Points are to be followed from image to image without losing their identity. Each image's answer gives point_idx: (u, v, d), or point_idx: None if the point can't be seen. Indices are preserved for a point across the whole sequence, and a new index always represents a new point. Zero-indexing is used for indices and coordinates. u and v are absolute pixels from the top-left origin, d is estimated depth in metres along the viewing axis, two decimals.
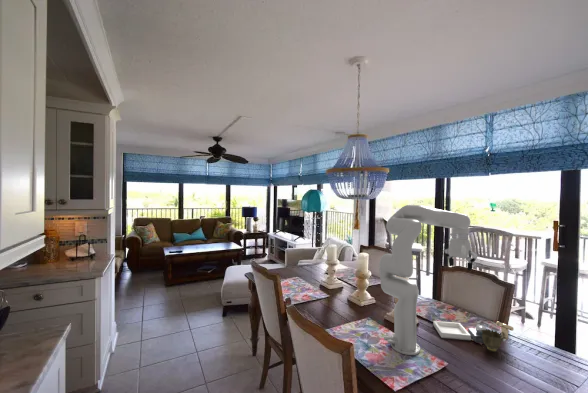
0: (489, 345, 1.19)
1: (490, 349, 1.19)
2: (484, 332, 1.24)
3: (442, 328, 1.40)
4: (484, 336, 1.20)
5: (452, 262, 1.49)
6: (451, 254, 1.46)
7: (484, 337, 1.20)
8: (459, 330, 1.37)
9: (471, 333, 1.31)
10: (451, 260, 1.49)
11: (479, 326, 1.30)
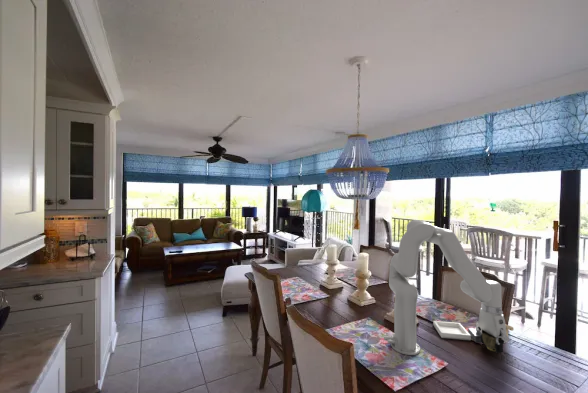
0: (489, 345, 1.19)
1: (490, 349, 1.19)
2: (484, 332, 1.24)
3: (442, 328, 1.40)
4: (484, 336, 1.20)
5: None
6: None
7: (484, 337, 1.20)
8: (459, 330, 1.37)
9: (471, 333, 1.31)
10: None
11: None
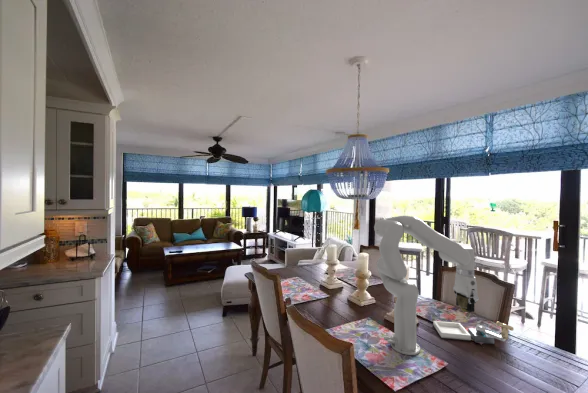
0: (462, 305, 1.28)
1: (463, 309, 1.29)
2: (459, 295, 1.34)
3: (442, 328, 1.40)
4: (458, 297, 1.30)
5: None
6: None
7: (458, 298, 1.30)
8: (459, 330, 1.37)
9: (471, 333, 1.31)
10: None
11: (479, 326, 1.30)
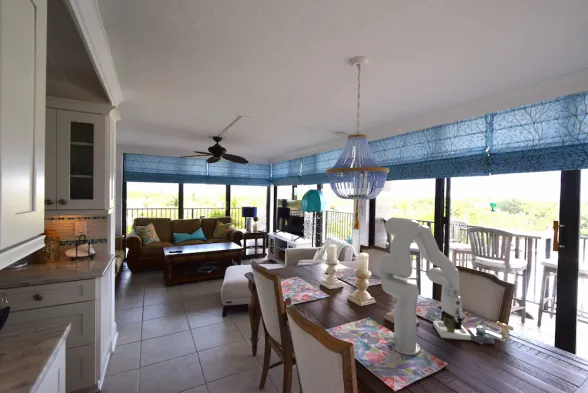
0: (448, 326, 1.35)
1: (449, 330, 1.36)
2: (445, 315, 1.40)
3: (442, 328, 1.40)
4: (444, 318, 1.36)
5: None
6: None
7: (444, 319, 1.36)
8: (459, 330, 1.37)
9: (471, 333, 1.31)
10: None
11: (479, 326, 1.30)
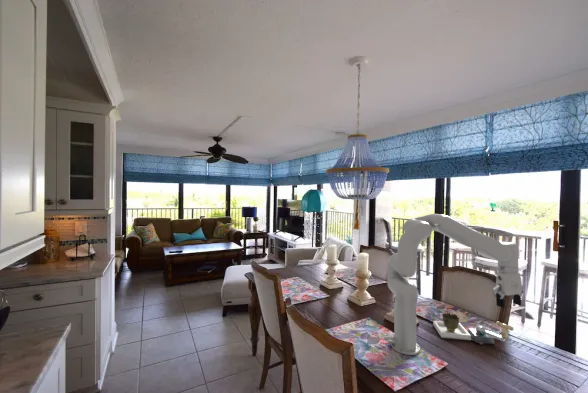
0: (448, 326, 1.35)
1: (449, 330, 1.36)
2: (445, 315, 1.40)
3: (442, 328, 1.40)
4: (444, 318, 1.36)
5: None
6: (509, 293, 1.20)
7: (444, 319, 1.36)
8: (459, 330, 1.37)
9: (471, 333, 1.31)
10: None
11: (479, 326, 1.30)
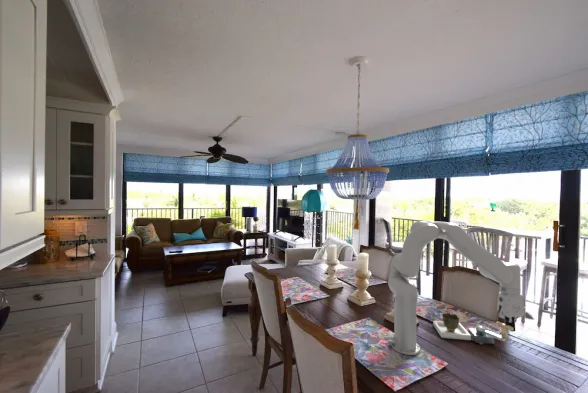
0: (448, 326, 1.35)
1: (449, 330, 1.36)
2: (445, 315, 1.40)
3: (442, 328, 1.40)
4: (444, 318, 1.36)
5: None
6: (510, 315, 1.19)
7: (444, 319, 1.36)
8: (459, 330, 1.37)
9: (471, 333, 1.31)
10: None
11: (479, 326, 1.30)
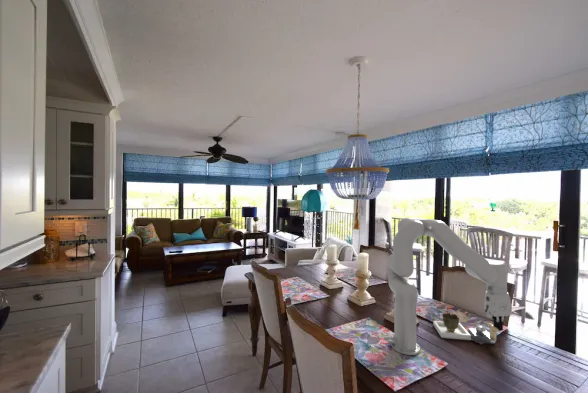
0: (448, 326, 1.35)
1: (449, 330, 1.36)
2: (445, 315, 1.40)
3: (442, 328, 1.40)
4: (444, 318, 1.36)
5: None
6: (497, 314, 1.18)
7: (444, 319, 1.36)
8: (459, 330, 1.37)
9: (471, 333, 1.31)
10: None
11: (479, 326, 1.31)
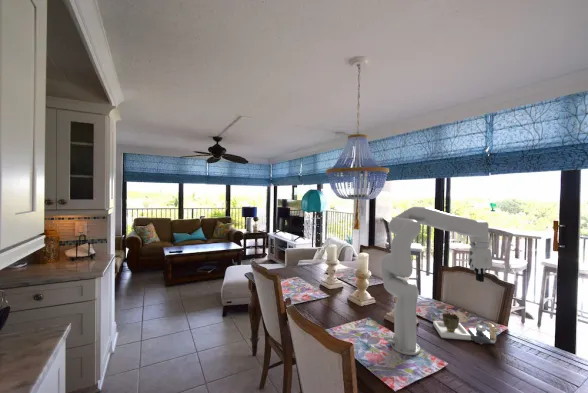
0: (448, 326, 1.35)
1: (449, 330, 1.36)
2: (445, 315, 1.40)
3: (442, 328, 1.40)
4: (444, 318, 1.36)
5: None
6: (478, 266, 1.32)
7: (444, 319, 1.36)
8: (459, 330, 1.37)
9: (471, 333, 1.31)
10: None
11: (479, 326, 1.31)
